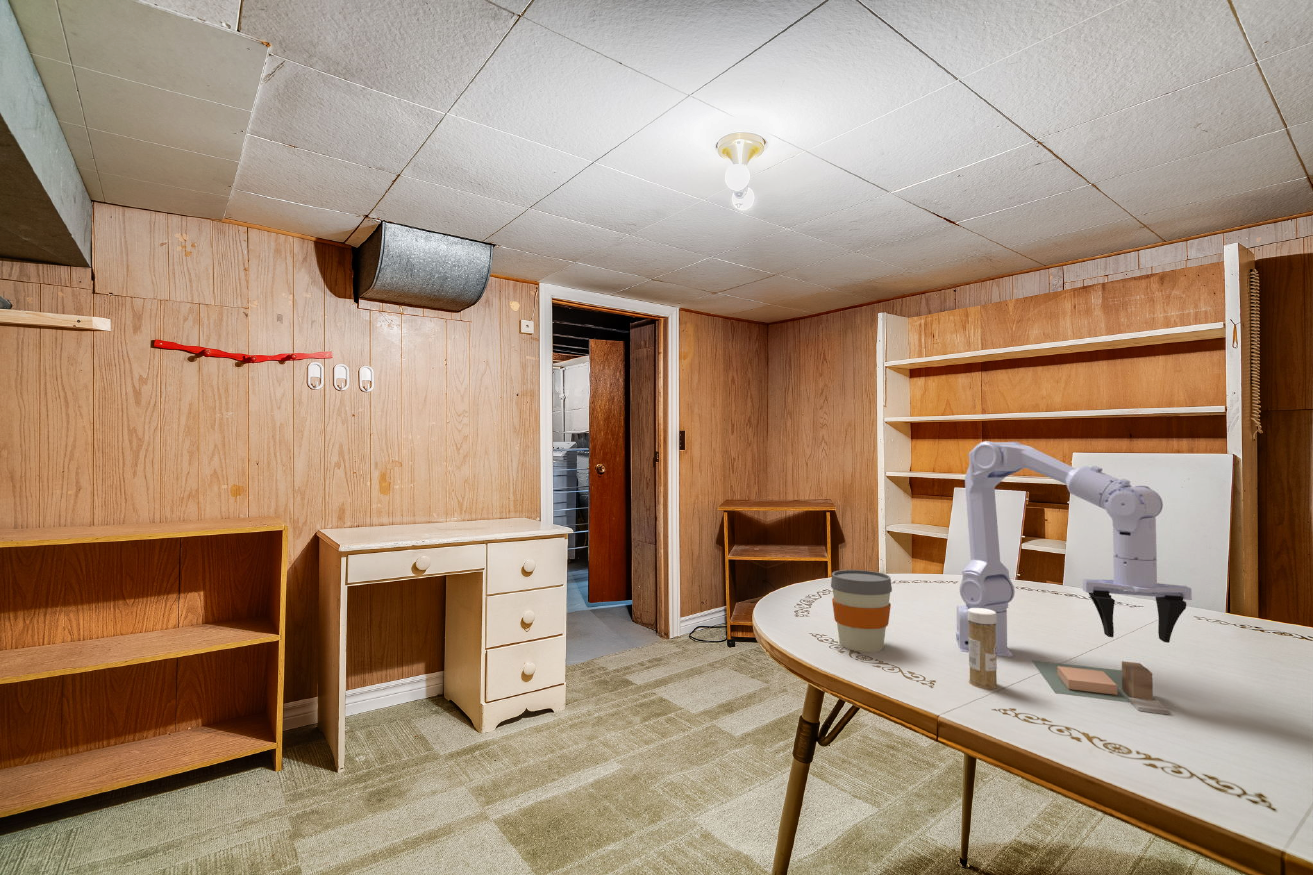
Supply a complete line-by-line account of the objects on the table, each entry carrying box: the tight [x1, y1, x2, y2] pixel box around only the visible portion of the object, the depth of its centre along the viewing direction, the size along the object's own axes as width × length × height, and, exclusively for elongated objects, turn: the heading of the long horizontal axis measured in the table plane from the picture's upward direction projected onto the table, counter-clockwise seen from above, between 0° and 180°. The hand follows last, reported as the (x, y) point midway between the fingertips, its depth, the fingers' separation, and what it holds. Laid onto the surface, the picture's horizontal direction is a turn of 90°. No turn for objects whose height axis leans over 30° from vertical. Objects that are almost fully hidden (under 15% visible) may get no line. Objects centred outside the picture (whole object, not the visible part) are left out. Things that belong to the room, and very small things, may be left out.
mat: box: [1031, 660, 1158, 703], centre depth 107 cm, size 15×17×1 cm
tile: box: [1057, 666, 1117, 695], centre depth 105 cm, size 7×2×7 cm
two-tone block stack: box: [1121, 660, 1170, 715], centre depth 98 cm, size 9×4×5 cm, turn 159°
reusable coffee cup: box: [830, 569, 893, 653], centre depth 128 cm, size 13×13×15 cm
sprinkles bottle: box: [968, 608, 998, 690], centre depth 106 cm, size 5×5×14 cm
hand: (1136, 638), depth 100 cm, fingers open, 7 cm apart
